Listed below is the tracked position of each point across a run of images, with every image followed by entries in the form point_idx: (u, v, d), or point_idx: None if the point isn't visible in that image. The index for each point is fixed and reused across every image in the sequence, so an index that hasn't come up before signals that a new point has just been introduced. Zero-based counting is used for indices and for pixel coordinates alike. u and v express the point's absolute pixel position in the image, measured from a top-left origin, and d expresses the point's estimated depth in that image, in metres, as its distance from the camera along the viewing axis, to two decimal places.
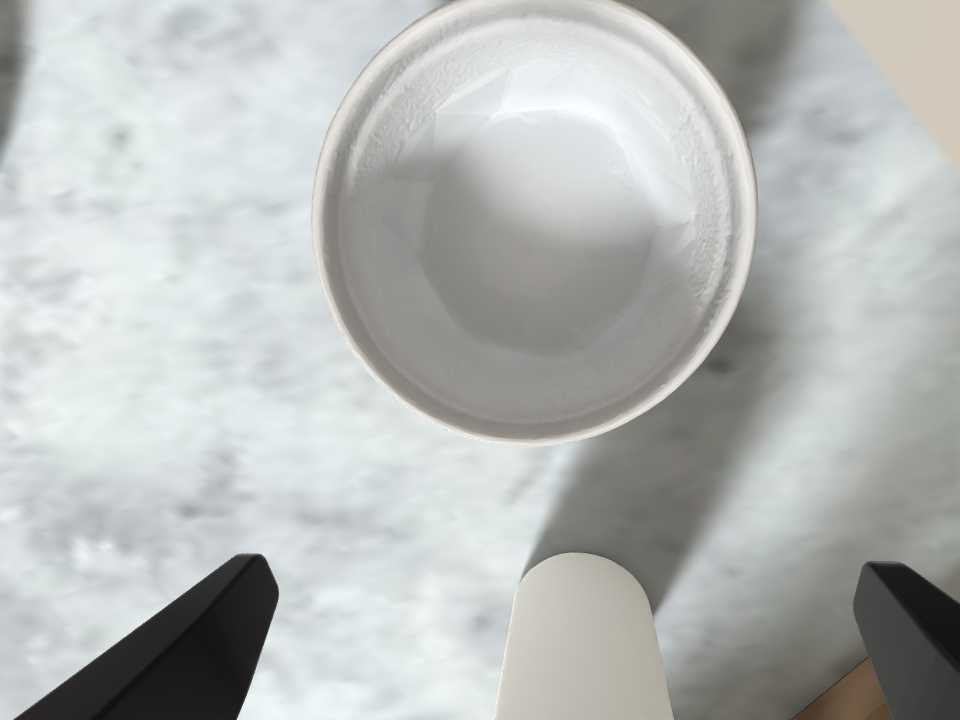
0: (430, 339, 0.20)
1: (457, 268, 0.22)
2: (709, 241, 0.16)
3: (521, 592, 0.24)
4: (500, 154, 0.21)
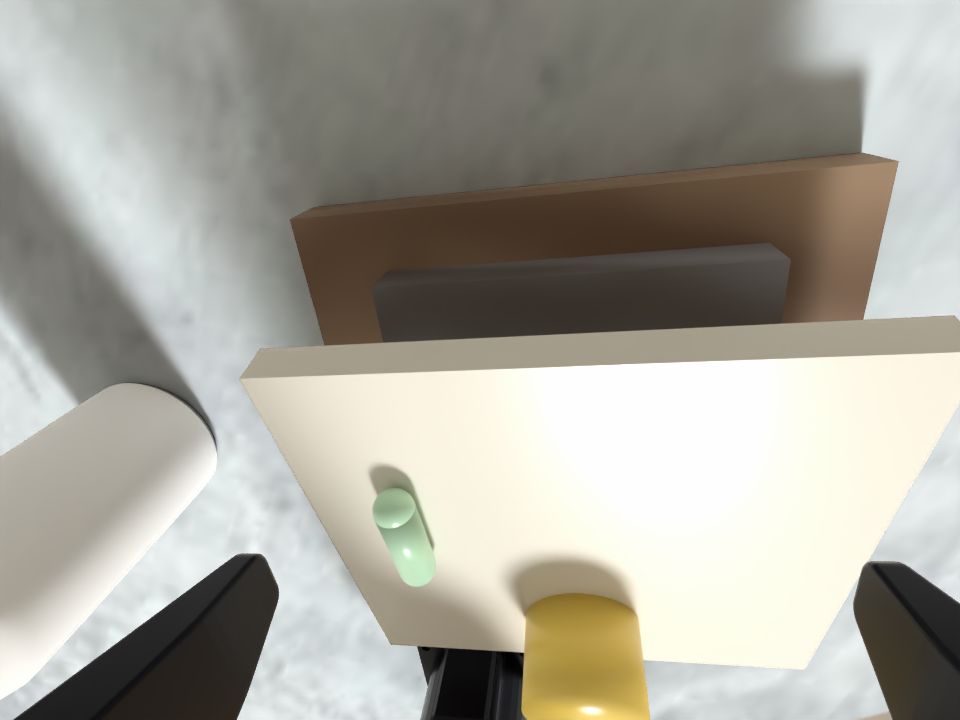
0: None
1: None
2: None
3: None
4: None
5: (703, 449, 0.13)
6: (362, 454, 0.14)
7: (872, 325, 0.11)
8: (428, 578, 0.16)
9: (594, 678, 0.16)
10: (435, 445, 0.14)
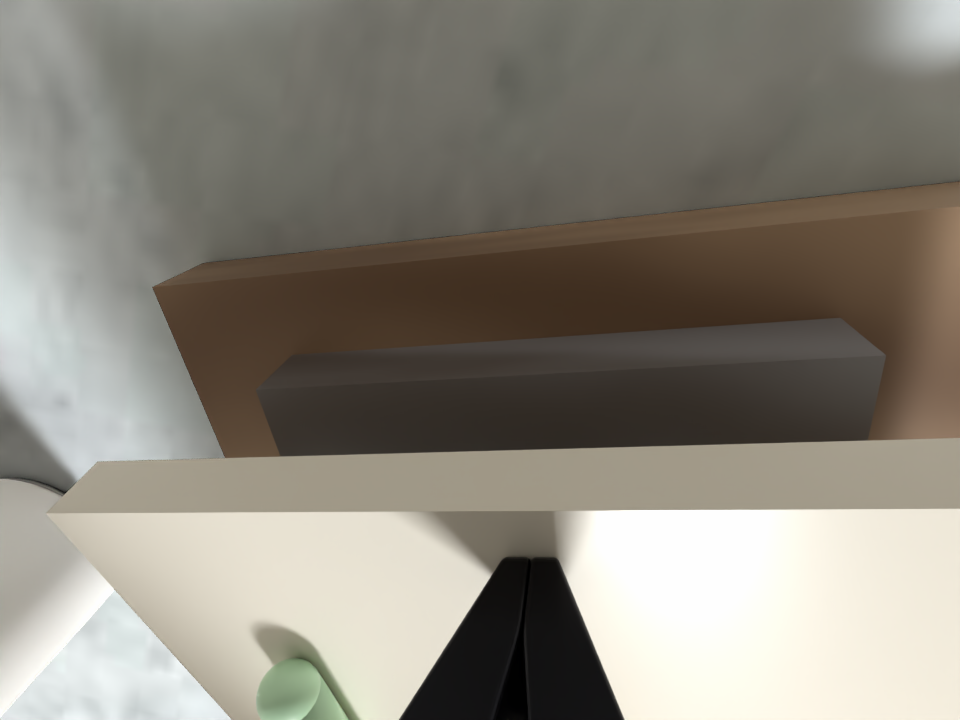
0: None
1: None
2: None
3: None
4: None
5: (745, 629, 0.08)
6: (241, 614, 0.10)
7: None
8: None
9: None
10: (341, 607, 0.09)
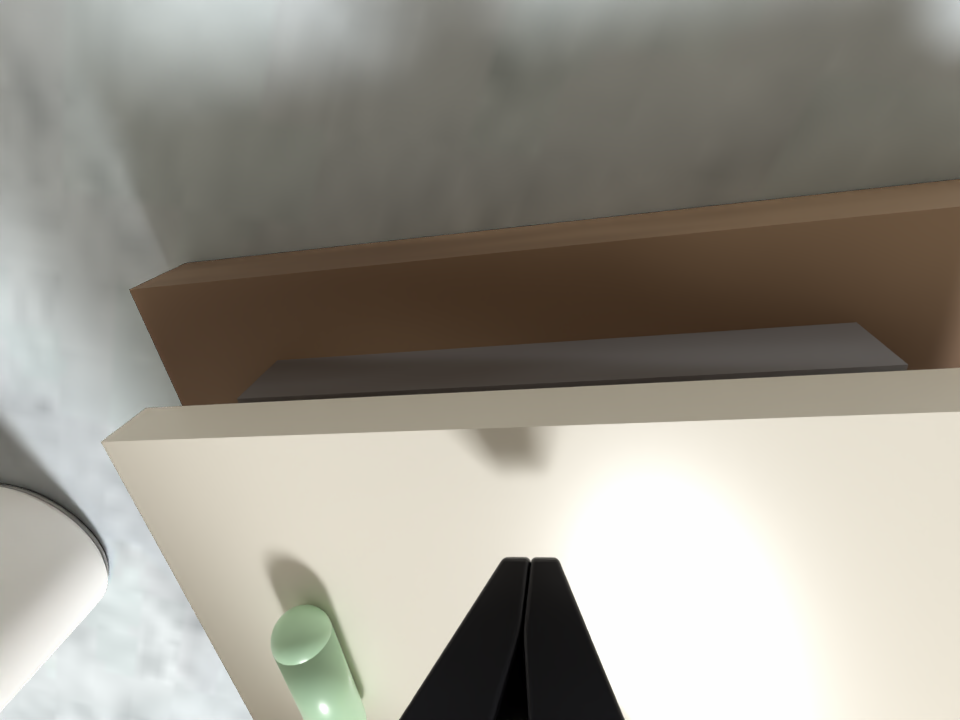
0: None
1: None
2: None
3: None
4: None
5: (726, 556, 0.09)
6: (263, 554, 0.11)
7: (951, 375, 0.08)
8: None
9: None
10: (357, 543, 0.10)
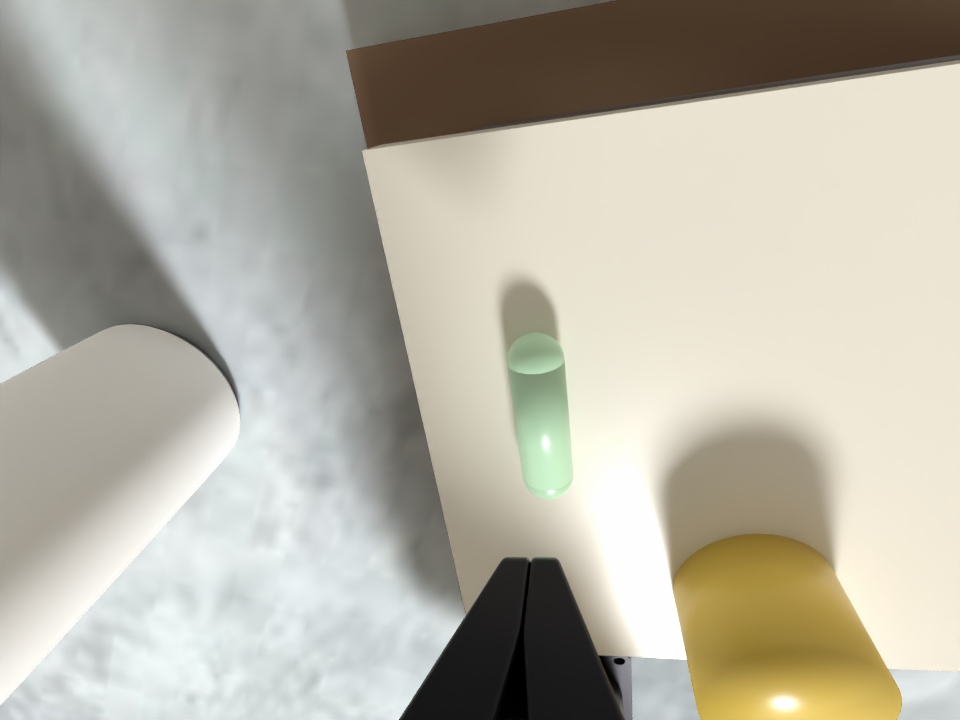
0: None
1: None
2: None
3: None
4: None
5: None
6: (500, 279, 0.11)
7: None
8: (566, 483, 0.12)
9: (816, 628, 0.11)
10: (602, 254, 0.10)
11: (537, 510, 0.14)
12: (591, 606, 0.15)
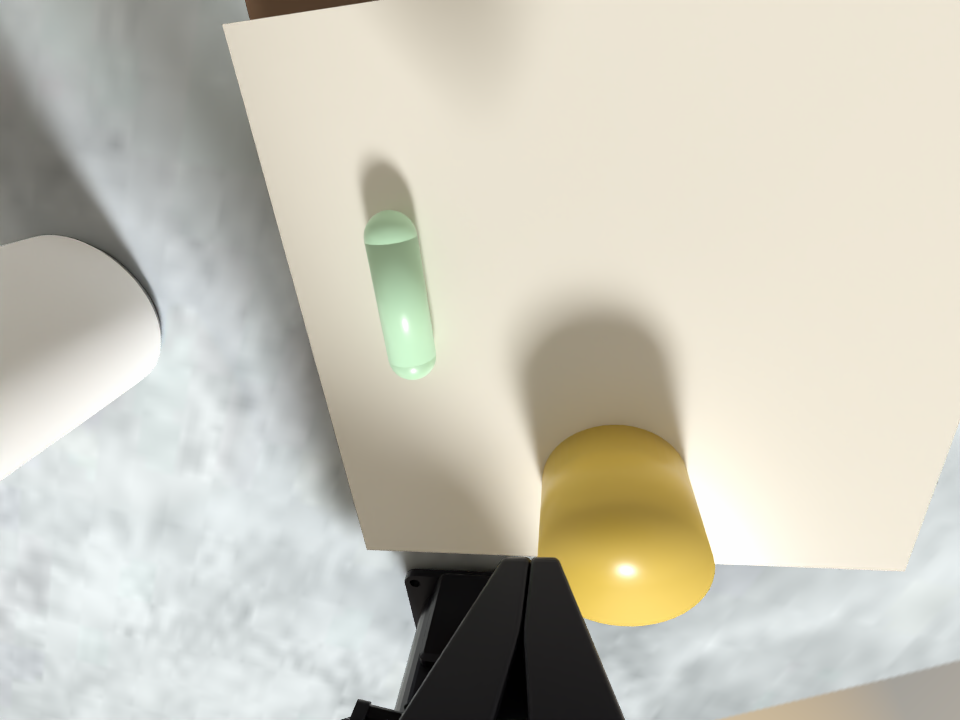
0: None
1: None
2: None
3: None
4: None
5: (784, 112, 0.10)
6: (358, 159, 0.12)
7: None
8: (425, 362, 0.13)
9: (639, 491, 0.12)
10: (449, 134, 0.11)
11: (413, 401, 0.15)
12: (470, 502, 0.16)
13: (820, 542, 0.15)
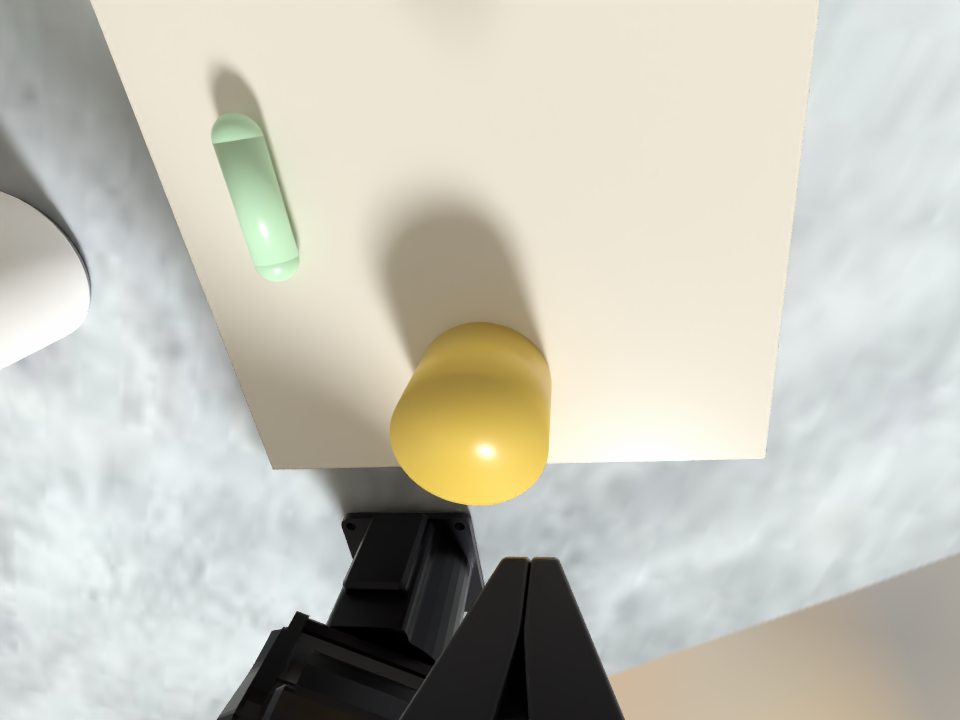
0: None
1: None
2: None
3: None
4: None
5: None
6: (205, 68, 0.13)
7: None
8: (284, 261, 0.14)
9: (472, 364, 0.13)
10: (281, 37, 0.12)
11: (291, 310, 0.16)
12: (359, 413, 0.17)
13: (682, 433, 0.15)
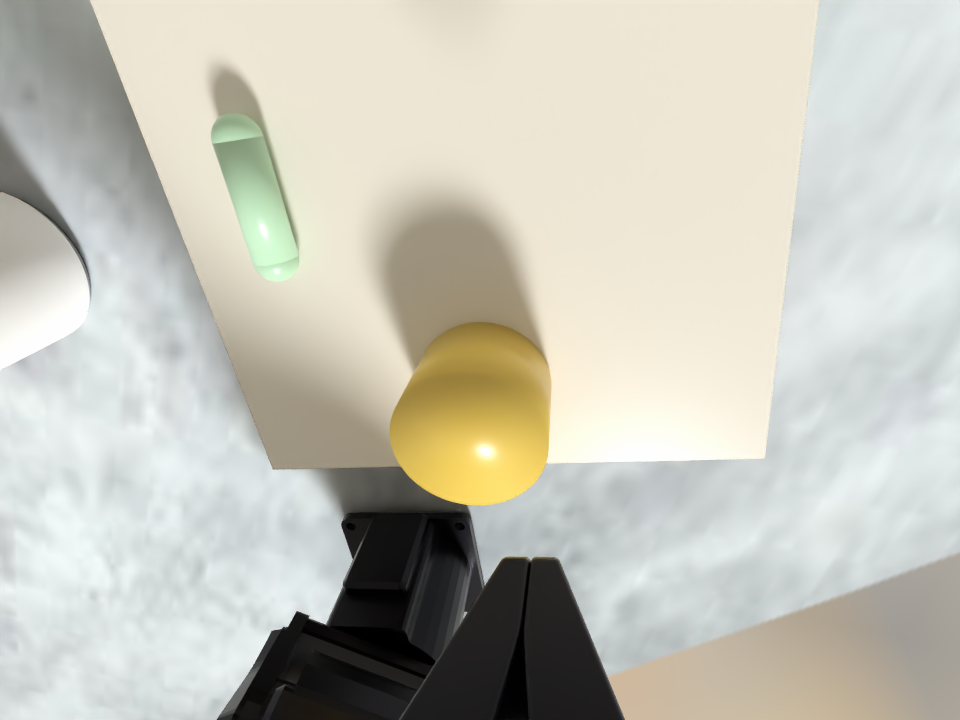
0: None
1: None
2: None
3: None
4: None
5: None
6: (205, 68, 0.13)
7: None
8: (283, 261, 0.14)
9: (472, 364, 0.13)
10: (280, 37, 0.12)
11: (290, 310, 0.16)
12: (358, 413, 0.17)
13: (682, 432, 0.15)
